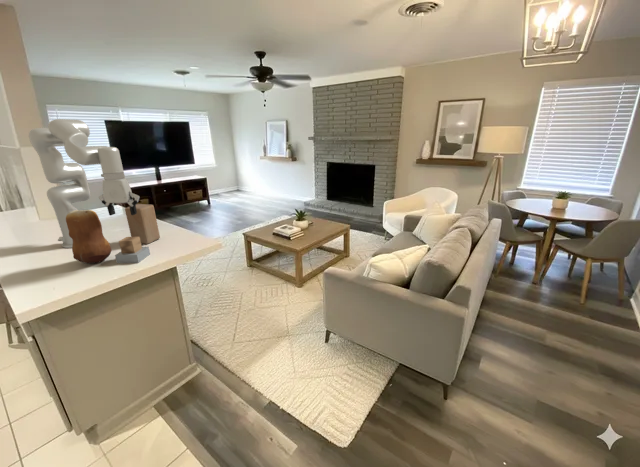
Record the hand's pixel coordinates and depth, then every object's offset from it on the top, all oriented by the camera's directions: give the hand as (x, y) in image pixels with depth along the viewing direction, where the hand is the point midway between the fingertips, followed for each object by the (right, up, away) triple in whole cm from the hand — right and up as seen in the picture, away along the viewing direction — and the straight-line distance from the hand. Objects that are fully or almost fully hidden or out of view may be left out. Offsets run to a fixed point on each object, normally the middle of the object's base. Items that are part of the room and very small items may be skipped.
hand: (123, 214), depth 130 cm
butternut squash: (-15, -22, +4) cm, 27 cm away
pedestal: (0, -21, +7) cm, 22 cm away
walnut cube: (0, -17, +6) cm, 18 cm away
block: (-7, -13, +30) cm, 33 cm away
